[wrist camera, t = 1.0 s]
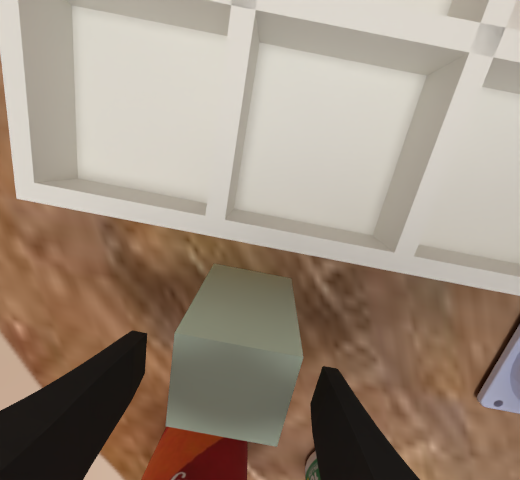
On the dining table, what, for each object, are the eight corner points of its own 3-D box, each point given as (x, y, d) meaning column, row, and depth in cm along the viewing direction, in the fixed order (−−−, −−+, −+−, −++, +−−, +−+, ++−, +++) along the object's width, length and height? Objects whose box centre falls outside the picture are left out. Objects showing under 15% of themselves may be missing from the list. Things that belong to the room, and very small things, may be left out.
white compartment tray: (768, -161, 8) (1019, -324, 6) (522, 277, 14) (589, 309, 11) (49, -310, 8) (-67, -554, 5) (71, 190, 13) (16, 198, 10)
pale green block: (291, 278, 14) (303, 356, 9) (275, 341, 16) (276, 446, 10) (214, 263, 14) (174, 332, 9) (204, 328, 16) (165, 426, 10)
